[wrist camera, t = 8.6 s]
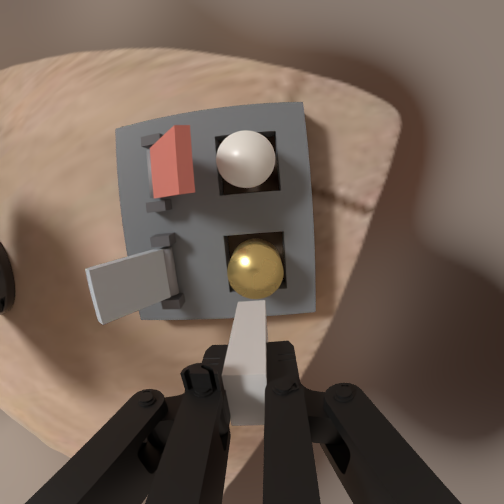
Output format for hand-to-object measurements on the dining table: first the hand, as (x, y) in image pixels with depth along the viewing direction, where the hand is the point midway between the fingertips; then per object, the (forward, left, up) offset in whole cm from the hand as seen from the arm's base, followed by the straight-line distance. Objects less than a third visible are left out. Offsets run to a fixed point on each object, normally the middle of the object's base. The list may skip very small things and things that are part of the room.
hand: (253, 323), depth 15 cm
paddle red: (-9, +10, -12) cm, 18 cm away
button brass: (0, 0, -13) cm, 13 cm away
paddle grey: (-9, 0, -12) cm, 15 cm away
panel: (-4, +5, -16) cm, 17 cm away
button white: (0, +10, -13) cm, 16 cm away
